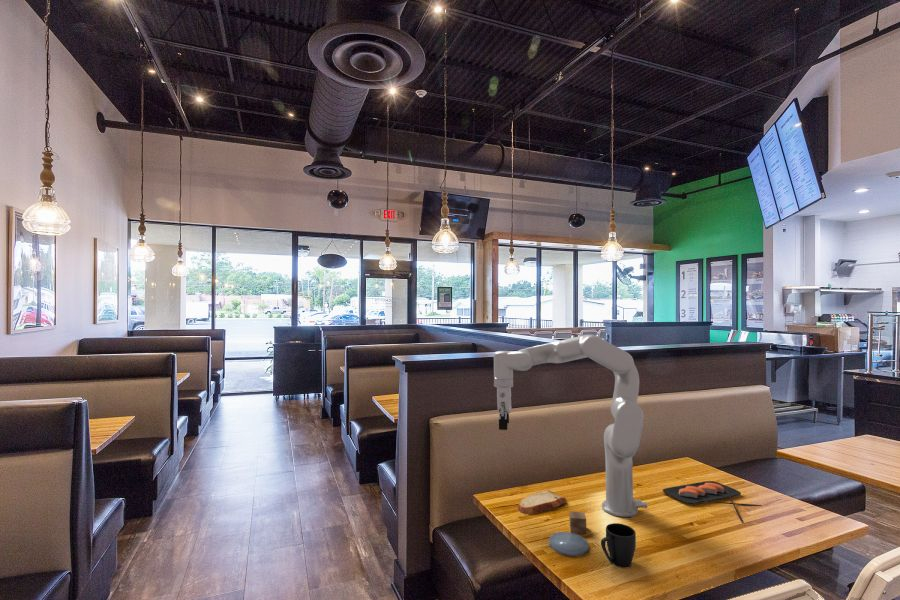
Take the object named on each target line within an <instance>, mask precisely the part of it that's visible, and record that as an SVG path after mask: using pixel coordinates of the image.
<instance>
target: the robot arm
mask: <svg viewBox="0 0 900 600" xmlns="http://www.w3.org/2000/svg"><path fill="white" fill-rule="evenodd" d="M585 358H589V359H591V360H592V361H594V362H596V363H597V364H599V365H601V366H603V367H605V368H606V369H609V370H611V371H612V372H613V375H614V389H613V395H612V400H611V404H610V413H611V415H612V417H613V419H614V423H610V424H609V425H608V426H606V428H605V430H604V432H603V444H604V445H603V446H604V447H603V448H604V457H605V458H604V459H605V500H603V501H602V502H601V508H602V510H603V511H604V512H606V513H608V514H610V515H611V516H612V515H613V516H616V517H622V518H630V517H635V516H637V514H638V513H639V509H638V508H643V509H647V508H648V502H646V501H643V500H642V499H635V498H634V483H633V482H634V477H633V475H634V473H633V470H634V469H633V468H634V467H633V457H634V456H635V455H636V454H637V453H638V450H639V447H640V443H641V438H642V431H643V427H644V420H645V419H644V418H645V417H644V412H643V409H642V408H641V406H640V405H639V404H638V397H639V391H640V375H639V371H638V369H637V366H636V365H635V362H634V361H635V360H634V358H633V356H632V355H631V354H630V353H629V352H627V351H625V350H624V349H622V348H620V347H618V346H616V345H614V344H612V343H610V342H608V341H607V340H605V339H604V338H602V337H600V336H597V335H595V334H584V335H579V336H574V337H571V338H570V337H569V338H566V339H561V340H556V341H551V342H549V343H544V344H540V345H534V346H530V347H526V348H522V349H519V350H517V351H515V352H512V351H509V350H498V351H497V350H496V351H495V352H494V353H493V387H495V388H496V398H497V399H496V403H497V412H498V414H499V415H498V430H500V431H507V430H508V424H510V414H511V412H512V388H514V371H520V372H521V371H522V372H525V371H528V370H530V369H532V367H533V366H536V365H542V364H563V363H567V362H568V363H569V362H572V361H576V360H581V359H585Z"/></svg>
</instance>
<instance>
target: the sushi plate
mask: <svg viewBox="0 0 900 600" xmlns="http://www.w3.org/2000/svg"><path fill="white" fill-rule="evenodd" d="M662 492H663V493H664V494H666V495H668V496H670V497H672V498H674V499H675V500H678V501H680V502H682V503H684V504H689V505H695V504H697V505H698V504H701V503H703V504H704V503H713V504H714V503H715V504H726V505H732V506H733V509H734V510H735V511H736V515H737V516H738V518H739V520H740V523H742V524H744V523H745V522H744V520H743V519H742V516H741V514H740V512H739V511H738V509H737V507H736V506H744V507H745V506H747V507H764V505H762V504H754V503H739V502H738V503H737V502H734V501H733V499H732V498H734V497H739V496H741V494H742V492H741V491H739V490H738V489H735V488H733V487H730V486H728V485H725V484H723V483H719V482H717V481H714V480H707V481H699V482H693V483H689V484H688V483H687V484H682V485H678V486H677V485H676V486H671V487H665V488H663V489H662ZM728 498H729V499H730V502H726V501H725V502H724V501H718V500H722V499H728ZM716 500H717V501H716Z"/></svg>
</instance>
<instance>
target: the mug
mask: <svg viewBox="0 0 900 600" xmlns="http://www.w3.org/2000/svg"><path fill="white" fill-rule="evenodd" d="M636 535H637V534H636V531H635V529H634V528H633V527H631V526H629V525H627V524H623V523H618V522H615V523H614V522H613V523H609V524H607V525H606V527H605V537H602V538H601V539H600V540H601V541H600V546H601V549H602V551H603V553H604V555H605V557H606V558H607V560H608V562H609V563H610V565H613V566H615V567H619V568H621V569H624V568H625V569H628V568H630V567H631V566H632V563H633V559H634V556H635V551H636V547H637V545H636V544H637V538H636Z"/></svg>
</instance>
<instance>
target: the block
mask: <svg viewBox="0 0 900 600" xmlns="http://www.w3.org/2000/svg"><path fill="white" fill-rule="evenodd" d="M568 515H569V530H570V533H571V532H572V533H574V534H583V535H587V518H586V517H587V516H586V514H585V511H584V512H583V511H575V510H573V511H572V510H570V511H569V512H568Z"/></svg>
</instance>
